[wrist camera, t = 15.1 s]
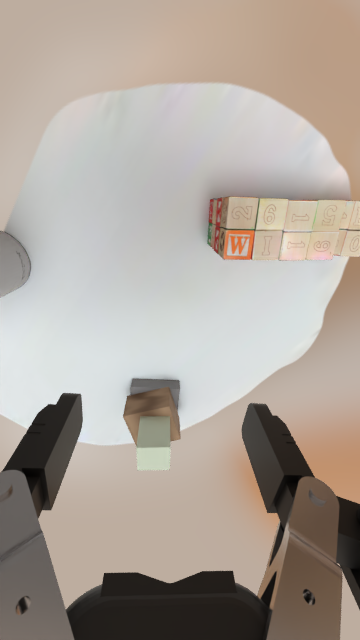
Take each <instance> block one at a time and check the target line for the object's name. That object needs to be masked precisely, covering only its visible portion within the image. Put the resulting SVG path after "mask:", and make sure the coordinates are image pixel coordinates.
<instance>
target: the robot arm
mask: <svg viewBox="0 0 360 640" xmlns="http://www.w3.org/2000/svg"><path fill="white" fill-rule="evenodd" d="M29 274H30V262H29V258H28V256H27V254H26V251H25V250H24V248H23V247H22V246H21V244H20V243H19V242H18V241H17V240H16V239H14V238H13V237H12V236H10V235H9V234H7V233H5V232H3V231H0V298H1V297H3V296H5V295H6V294H8V293H10V292H12V291H14V290H16V289H17V288H19V287H21V286H22V285H23V284H24V283H25V282H26V281H27V279H28V277H29ZM82 421H83V417H82V400H81V394H73V393H63V394H62V395H61V397H60V398H59V400H58V402H57V404H56V405H52V404H48V405H47V406H46V407H45V408H44V409H42V410H41V411H40V412H39V413H38V414H37V416H36V417H35V419H34V421H33V422H32V425H30V427H29V429H28V430H27V433H26V434H25V435H24V437H23V439H22V440H21V442H20V443H19V445H18V447H17V448H16V450H15V452H14V453H13V455H12V457H11V458H10V460H9V461H8V463H7V465H6V466H5V468H4V469H3V471H2V472H1V473H0V640H340V624H341V599H342V571H343V573H344V575H345V578H346V580H347V582H348V585H349V587H350V589H351V591H352V594H353V596H354V598H355V600H356V602H357V605H358V607H359V609H360V504H358V503H355V502H352V501H349V500H346V499H343V498H340V497H338V496H336V495H335V494H334V492H333V491H332V490H331V489H330V487H328V486H327V485H326V484H325V483H324V482H322V481H320V480H319V479H317V478H315V477H314V475H313V473H312V471H311V469H310V468H309V466H308V464H307V462H306V461H305V459H304V457H303V455H302V453H301V451H300V450H299V448H298V446H297V445H296V442H295V441H294V439H293V437H292V436H291V433H290V431H289V430H288V428H287V426H286V424H285V423H284V422H283V421H282V420H281V419H280V418H278V416H272V414H271V412H270V410H269V408H268V406H267V405H266V404H255V403H250V404H249V405H248V408H247V412H246V415H245V418H244V422H243V425H242V438H243V441H244V444H245V447H246V450H247V453H248V456H249V459H250V462H251V465H252V468H253V471H254V474H255V477H256V480H257V483H258V486H259V489H260V492H261V495H262V498H263V501H264V504H265V507H266V510H267V513H277V514H278V516H279V519H280V521H279V524H278V527H277V531H276V535H275V538H274V542H273V546H272V549H271V553H270V557H269V561H268V564H267V568H266V571H265V575H264V578H263V580H262V583H261V586H260V588H259V591H258V595H257V596H256V595H255V594H254V593H253V592H251V591H250V590H249V589H247V588H245V587H243V586H242V585H240V584H238V583H235V580H234V575H233V571H202V572H200V573H197V574H195V575H192V576H189V577H187V578H185V579H182V580H180V581H177V582H174V583H166V582H163V581H159V580H157V579H154V578H151V577H148V576H146V575H143V574H140V573H104V577H103V584H102V585H99V586H97V587H95V588H93V589H91V590H89V591H87V592H86V593H84V594H83V595H82V596H80V597H79V598H78V599H77V600H75V601H74V602H73V603H72V604H71V605H70V606H69V607H68V608H67V609H65V606H64V603H63V600H62V596H61V593H60V589H59V586H58V582H57V579H56V576H55V572H54V569H53V565H52V562H51V558H50V555H49V551H48V548H47V545H46V541H45V538H44V535H43V532H42V531H41V528H40V524H39V521H38V518H39V516H40V513H41V511H42V510H51V509H52V507H53V504H54V501H55V499H56V496H57V493H58V490H59V488H60V485H61V483H62V480H63V477H64V474H65V472H66V469H67V467H68V464H69V461H70V459H71V456H72V453H73V450H74V448H75V445H76V442H77V440H78V437H79V434H80V432H81V428H82ZM337 563H339V564H340V566H339V565H337Z"/></svg>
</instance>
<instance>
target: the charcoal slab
mask: <svg viewBox="0 0 360 640" xmlns="http://www.w3.org/2000/svg"><path fill="white" fill-rule="evenodd" d="M165 387H169V388H170V391H171V394H172V397H173V400H174V403H175V407H176V410H177V409H178V400H179V391H180V385H179V381H177V380H153V379H132V383H131V395H134V394H138V393H142V392H147V391H151V390H156V389H160V388H165Z"/></svg>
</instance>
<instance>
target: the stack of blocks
mask: <svg viewBox="0 0 360 640" xmlns="http://www.w3.org/2000/svg"><path fill="white" fill-rule="evenodd" d="M208 244H209V246H210V247H212V248H213V249H214V251H215V252H216V253H217V254H219V255H220V256H221V257H222V258H223V259H224V260H250V259H251V260H280V261H288V260H332V258H333V255H338V256H356V257H358V256H359V257H360V201H347V200H289V199H278V198H255V197H225V198H218V199H211V200H210V211H209V230H208Z"/></svg>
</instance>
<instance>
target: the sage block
mask: <svg viewBox="0 0 360 640" xmlns="http://www.w3.org/2000/svg"><path fill="white" fill-rule="evenodd" d="M136 452H137V470H170V416H140V423H139V431H138V438H137V446H136Z"/></svg>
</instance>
